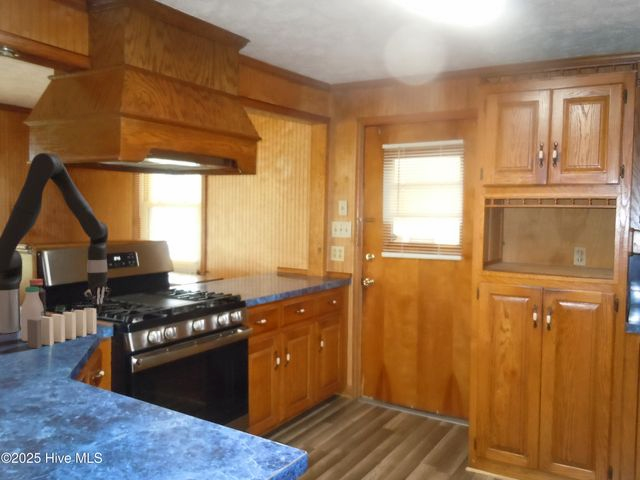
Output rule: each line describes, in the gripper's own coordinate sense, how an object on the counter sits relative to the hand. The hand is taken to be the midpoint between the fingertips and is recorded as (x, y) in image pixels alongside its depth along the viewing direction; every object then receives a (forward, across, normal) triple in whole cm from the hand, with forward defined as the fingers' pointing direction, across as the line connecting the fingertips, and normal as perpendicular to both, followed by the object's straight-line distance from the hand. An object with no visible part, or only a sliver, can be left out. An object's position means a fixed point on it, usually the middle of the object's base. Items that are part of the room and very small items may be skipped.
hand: (97, 313), depth 216 cm
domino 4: (+8, +14, 0) cm, 16 cm away
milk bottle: (+8, +21, -11) cm, 25 cm away
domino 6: (+7, +4, 0) cm, 8 cm away
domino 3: (+8, +19, 0) cm, 21 cm away
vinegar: (+8, +5, -29) cm, 30 cm away
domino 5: (+8, +9, 0) cm, 12 cm away
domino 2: (+8, +24, 0) cm, 25 cm away
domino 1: (+8, +29, 0) cm, 30 cm away
